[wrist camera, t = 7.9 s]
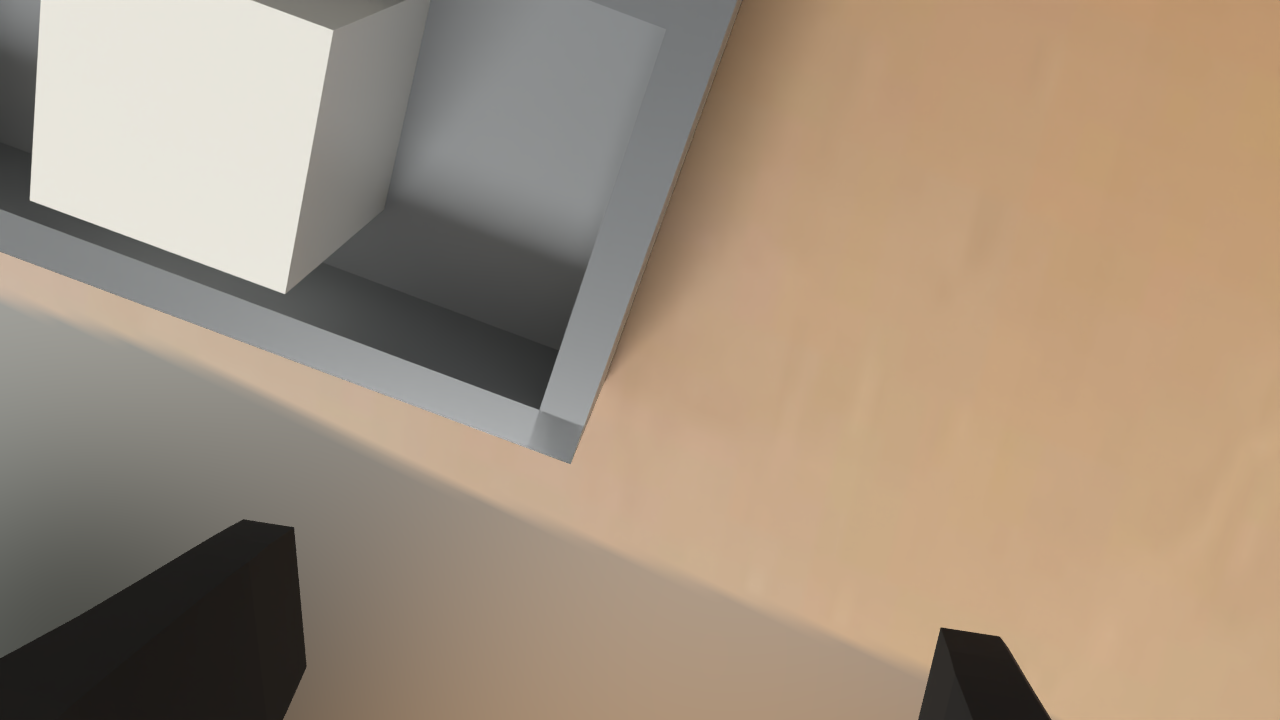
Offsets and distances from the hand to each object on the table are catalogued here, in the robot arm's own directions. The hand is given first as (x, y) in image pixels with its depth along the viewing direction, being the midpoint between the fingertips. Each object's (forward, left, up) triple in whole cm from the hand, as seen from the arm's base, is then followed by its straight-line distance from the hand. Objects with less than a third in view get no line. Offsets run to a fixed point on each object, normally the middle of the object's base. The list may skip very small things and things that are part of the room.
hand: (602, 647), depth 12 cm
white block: (+6, -5, -9) cm, 12 cm away
